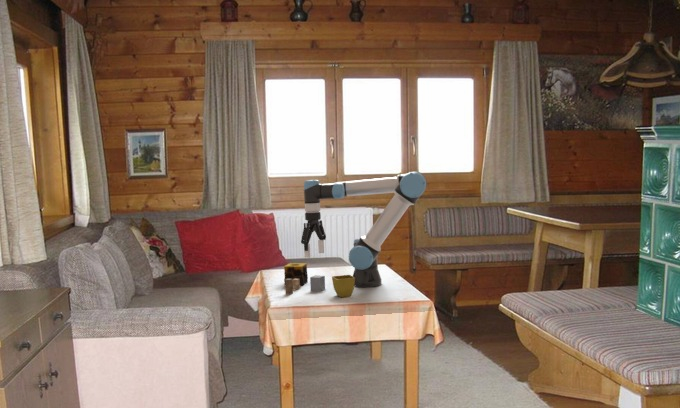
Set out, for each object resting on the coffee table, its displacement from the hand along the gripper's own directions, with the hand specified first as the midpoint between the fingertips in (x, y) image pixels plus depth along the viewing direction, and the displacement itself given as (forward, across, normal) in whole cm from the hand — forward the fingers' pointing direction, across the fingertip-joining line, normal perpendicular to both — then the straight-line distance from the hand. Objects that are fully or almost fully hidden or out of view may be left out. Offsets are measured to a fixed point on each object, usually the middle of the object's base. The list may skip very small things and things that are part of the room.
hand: (314, 255), depth 310 cm
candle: (+17, -9, -17) cm, 26 cm away
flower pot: (+17, +8, +20) cm, 27 cm away
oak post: (+17, +3, -10) cm, 20 cm away
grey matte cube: (+17, 0, +1) cm, 17 cm away
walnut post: (+17, +13, -7) cm, 22 cm away
